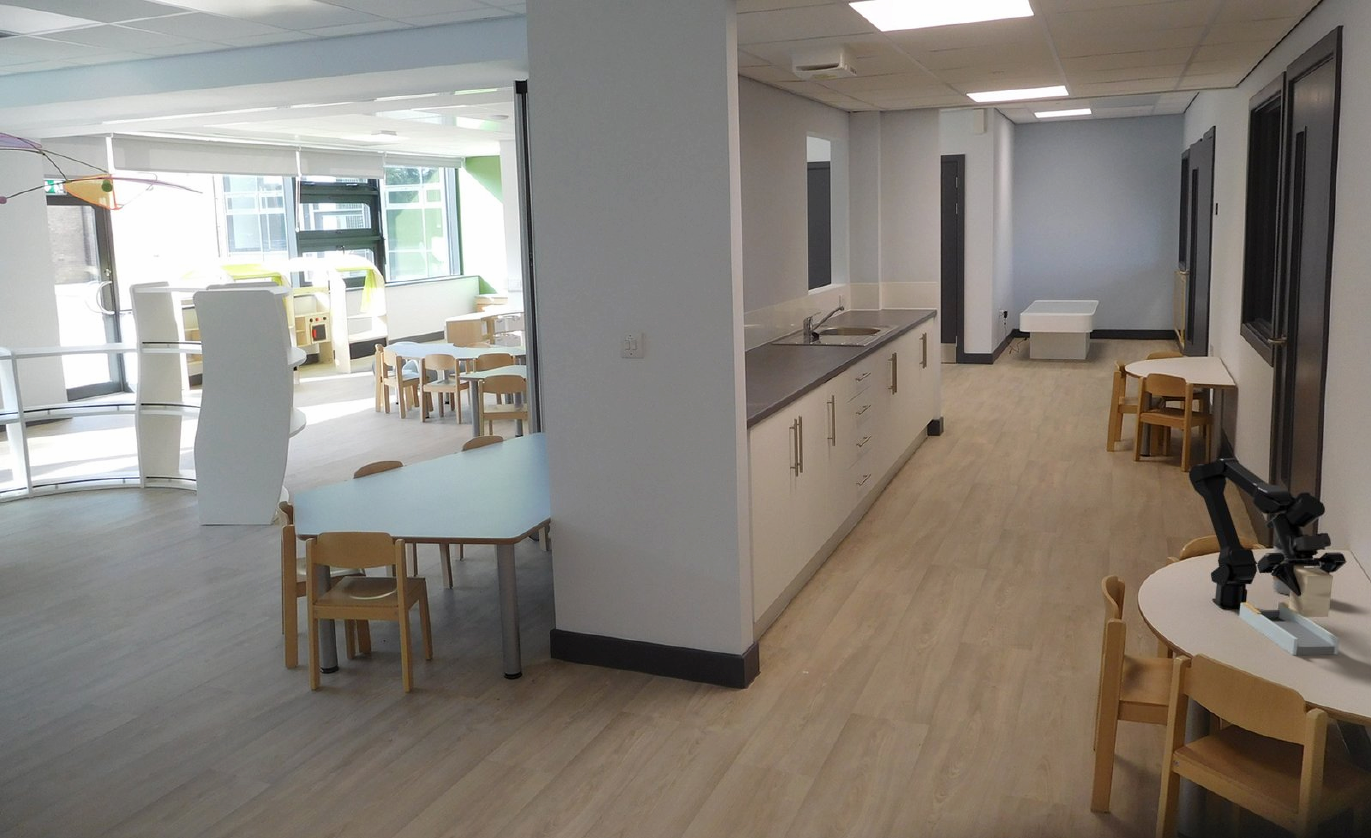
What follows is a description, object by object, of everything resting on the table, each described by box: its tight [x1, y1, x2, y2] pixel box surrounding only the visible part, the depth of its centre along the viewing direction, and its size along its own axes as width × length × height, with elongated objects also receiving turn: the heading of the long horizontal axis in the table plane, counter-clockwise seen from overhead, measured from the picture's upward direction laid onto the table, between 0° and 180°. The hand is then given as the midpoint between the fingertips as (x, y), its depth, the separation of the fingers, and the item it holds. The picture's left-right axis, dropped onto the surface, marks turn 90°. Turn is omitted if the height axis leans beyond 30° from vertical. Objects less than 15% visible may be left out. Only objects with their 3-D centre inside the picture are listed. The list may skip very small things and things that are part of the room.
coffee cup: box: [1272, 535, 1305, 596], centre depth 296 cm, size 8×8×15 cm
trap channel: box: [1238, 601, 1340, 656], centre depth 267 cm, size 24×11×4 cm, turn 1°
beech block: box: [1288, 567, 1334, 618], centre depth 257 cm, size 6×6×10 cm
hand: (1313, 595), depth 256 cm, fingers closed on beech block, 6 cm apart
